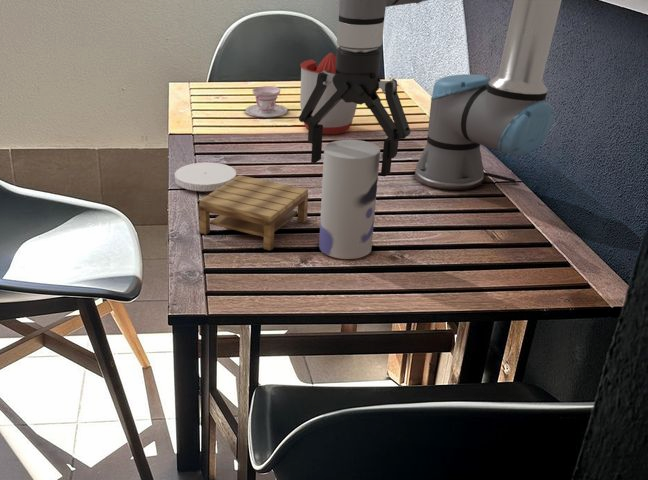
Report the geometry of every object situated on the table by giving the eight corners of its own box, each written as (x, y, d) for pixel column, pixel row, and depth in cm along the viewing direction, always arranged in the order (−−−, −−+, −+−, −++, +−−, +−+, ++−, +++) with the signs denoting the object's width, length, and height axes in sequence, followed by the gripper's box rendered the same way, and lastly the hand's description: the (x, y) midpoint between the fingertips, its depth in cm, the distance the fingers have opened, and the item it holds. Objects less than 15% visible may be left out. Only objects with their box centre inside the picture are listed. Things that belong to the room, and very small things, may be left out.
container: (369, 262, 150) (379, 159, 140) (316, 257, 152) (321, 155, 142) (372, 239, 159) (381, 140, 149) (321, 235, 161) (327, 137, 150)
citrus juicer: (344, 116, 227) (349, 43, 217) (364, 136, 212) (370, 58, 202) (290, 120, 225) (292, 45, 214) (306, 140, 210) (309, 61, 200)
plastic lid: (240, 174, 190) (240, 163, 188) (231, 197, 178) (231, 186, 177) (182, 171, 192) (181, 161, 190) (169, 193, 180) (168, 183, 179)
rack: (307, 220, 167) (308, 188, 163) (270, 250, 155) (270, 217, 151) (239, 205, 174) (239, 174, 170) (199, 233, 162) (198, 200, 159)
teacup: (260, 103, 239) (261, 82, 235) (295, 110, 233) (296, 88, 229) (237, 113, 230) (237, 91, 227) (272, 120, 224) (273, 98, 221)
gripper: (438, 51, 134) (423, 173, 144) (302, 35, 145) (297, 149, 155) (423, 60, 128) (408, 186, 139) (283, 43, 139) (279, 161, 150)
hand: (350, 167), depth 147 cm, fingers open, 13 cm apart
